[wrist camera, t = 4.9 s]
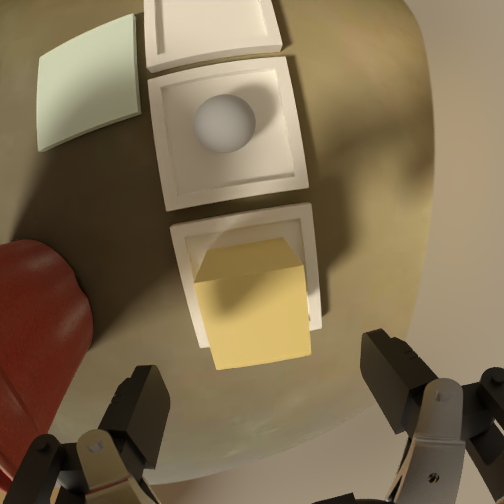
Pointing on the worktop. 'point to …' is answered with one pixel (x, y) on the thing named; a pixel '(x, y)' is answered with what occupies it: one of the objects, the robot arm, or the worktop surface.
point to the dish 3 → (241, 232)
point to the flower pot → (36, 344)
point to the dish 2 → (234, 163)
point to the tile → (88, 83)
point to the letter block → (253, 303)
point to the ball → (224, 123)
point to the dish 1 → (207, 30)
